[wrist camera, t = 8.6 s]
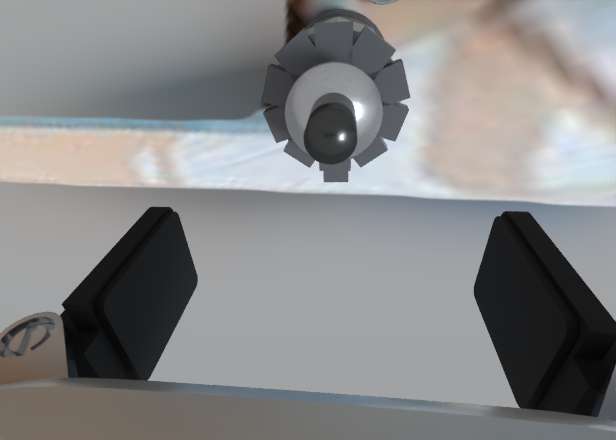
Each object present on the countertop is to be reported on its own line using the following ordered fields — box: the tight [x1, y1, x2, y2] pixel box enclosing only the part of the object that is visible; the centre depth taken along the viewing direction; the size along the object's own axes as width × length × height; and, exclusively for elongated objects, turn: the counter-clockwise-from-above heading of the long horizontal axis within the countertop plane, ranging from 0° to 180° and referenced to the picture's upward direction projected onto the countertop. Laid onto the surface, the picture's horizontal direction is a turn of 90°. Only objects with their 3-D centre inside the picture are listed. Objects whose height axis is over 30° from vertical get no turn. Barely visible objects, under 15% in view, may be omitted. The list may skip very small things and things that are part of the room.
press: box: [262, 10, 410, 182], centre depth 30 cm, size 10×12×15 cm
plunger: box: [285, 61, 383, 165], centre depth 23 cm, size 6×6×13 cm
